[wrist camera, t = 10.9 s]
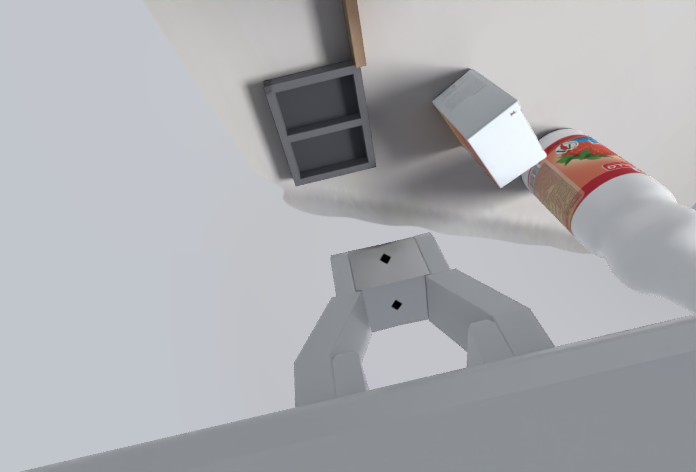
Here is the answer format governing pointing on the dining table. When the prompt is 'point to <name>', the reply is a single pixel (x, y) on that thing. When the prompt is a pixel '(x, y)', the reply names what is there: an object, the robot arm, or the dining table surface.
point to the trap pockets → (322, 121)
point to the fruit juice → (618, 215)
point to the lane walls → (354, 32)
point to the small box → (490, 127)
